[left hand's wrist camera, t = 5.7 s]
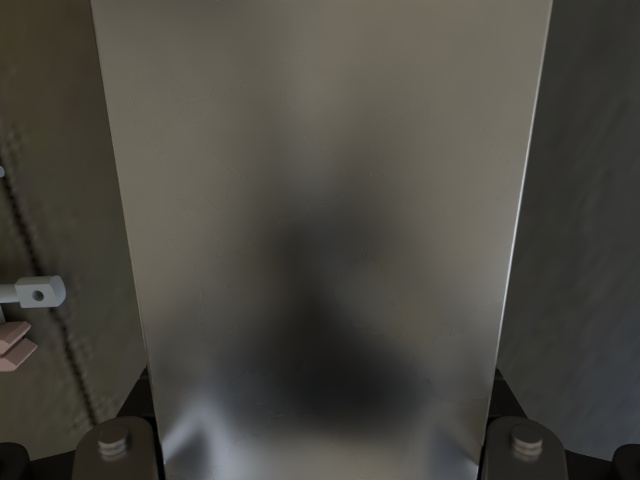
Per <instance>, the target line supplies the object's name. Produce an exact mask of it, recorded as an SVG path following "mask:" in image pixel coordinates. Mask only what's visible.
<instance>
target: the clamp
mask: <svg viewBox="0 0 640 480" xmlns="http://www.w3.org/2000/svg"><path fill="white" fill-rule="evenodd" d="M3 176H4V169H3V167H1V166H0V177H3ZM65 297H66V291H65V286H64V283H63V281H62V279H61V278H60V276H40V277H22V278H20V279H18V281H17V282H16V283H15V284H1V285H0V303H7V302H20V304H21V308H32V307H53V306H59V305H60V304H61V303H62V302H63V301H64V299H65ZM30 327H31V325H30V324H29V323H27V322H26V321H20V322H7V323H6V321H5V318H4V315H3V312H2V309H1V306H0V371H14V370H15V369H16V368H17V367H18V366H19V365H20V364H21V363H22V362H23V361H24V360H25V359H26V358H27V357H28V356H29V355H30V354H31V353H32V352H33V351H34V350H35V349H36V348H37V345H36V344H34V343H33V342H31V341H30V340H28V339H27V338H25V339H23V338H21V337H22V336H23V335H25V333H26V332H27V331H28V330H29V328H30Z"/></svg>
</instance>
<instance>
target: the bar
mask: <svg viewBox="0 0 640 480" xmlns="http://www.w3.org/2000/svg"><path fill="white" fill-rule="evenodd" d="M89 2H90V8H91V14H92V21H93V27H94V33H95V39H96V46H97V52H98V58H99V65H100V71H101V77H102V84H103V90H104V96H105V103H106V109H107V115H108V121H109V128H110V134H111V140H112V147H113V153H114V159H115V166H116V172H117V178H118V184H119V191H120V197H121V203H122V210H123V216H124V222H125V229H126V235H127V241H128V248H129V254H130V260H131V266H132V273H133V279H134V285H135V292H136V298H137V304H138V311H139V317H140V323H141V329H142V336H143V342H144V348H145V355H146V361H147V367H148V374H149V380H150V386H151V393H152V399H153V405H154V411H155V418H156V424H157V430H158V437H159V443H160V449H161V456H162V462H163V468H164V474H165V480H478V476H479V470H480V463H481V457H482V451H483V444H484V438H485V432H486V425H487V419H488V413H489V406H490V400H491V394H492V387H493V381H494V375H495V368H496V362H497V356H498V349H499V343H500V337H501V330H502V324H503V317H504V311H505V305H506V298H507V292H508V286H509V279H510V273H511V267H512V260H513V254H514V248H515V241H516V235H517V229H518V222H519V216H520V210H521V203H522V197H523V191H524V184H525V178H526V172H527V165H528V159H529V153H530V146H531V140H532V134H533V127H534V121H535V115H536V108H537V102H538V96H539V89H540V83H541V76H542V70H543V64H544V57H545V51H546V45H547V38H548V32H549V26H550V19H551V13H552V7H553V0H89Z"/></svg>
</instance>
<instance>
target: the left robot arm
mask: <svg viewBox="0 0 640 480" xmlns="http://www.w3.org/2000/svg"><path fill="white" fill-rule="evenodd" d="M0 480H165V474H164V468H163V462H162V456H161V449H160V443H159V437H158V430H157V424H156V418H155V411H154V405H153V399H152V393H151V386H150V380H149V374H148V367H147V365H146V368H145V369H144V370H143V372H142V374H141V375H140V379H139V380H137V382H136V384H135V385H134V387H133V389H132V391H131V392H130V394H129V396H128V397H127V399H126V401H125V402H124V404H123V406H122V407H121V409H120V411H119V413H118V414H117V416H116V418H113V419H110V420H107V421H105V422H103V423H101V424H99V425H97V426H95V427H94V428H92V429H91V430H90V431H88V432H87V433H86V434H85V435H84V436H83V437H82V438H81V440H80V441H79V443H78V445H77V447H76V450H73V451H70V452H66V453H62V454H58V455H54V456H50V457H46V458H42V459H38V460H33V461H30V458H29V455H28V452H27V450H26V448H25V447H24V446H22V445H20V444H17V443H11V442H5V443H0ZM478 480H640V444H626V445H623V446H621V447H619V448H618V449H617V450H616V451H615V453H614V455H613V459H612V462H610V461H606V460H602V459H598V458H594V457H590V456H586V455H581V454H578V453H574V452H571V451H568V450H566V449H564V447H563V445H562V443H561V441H560V440H559V438H558V437H557V436H556V435H555V434H554V433H553V432H552V431H550V430H549V429H548V428H546V427H545V426H543V425H541V424H539V423H537V422H535V421H533V420H530V419H528V418H527V416H526V415H525V413H524V411H523V410H522V408H521V406H520V405H519V403H518V401H517V400H516V398H515V396H514V395H513V393H512V391H511V389H510V388H509V386H508V384H507V383H506V381H505V380H503V376H502V374H501V373H500V371H499V369H497V368H495V375H494V381H493V387H492V394H491V400H490V406H489V413H488V419H487V425H486V432H485V438H484V444H483V451H482V457H481V463H480V470H479V476H478Z"/></svg>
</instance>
